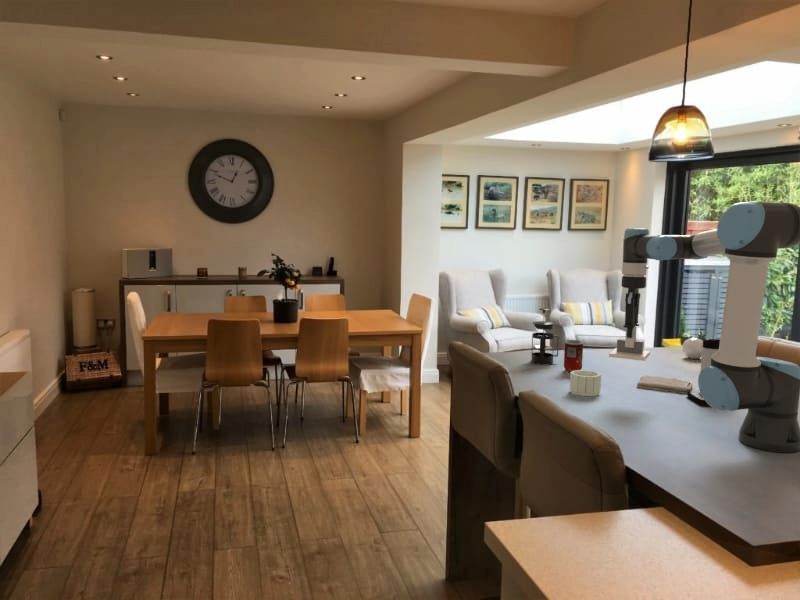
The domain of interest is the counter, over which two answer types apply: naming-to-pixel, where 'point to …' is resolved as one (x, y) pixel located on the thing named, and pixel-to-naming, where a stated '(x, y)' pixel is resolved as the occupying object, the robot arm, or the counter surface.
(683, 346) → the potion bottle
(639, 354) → the cover
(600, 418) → the counter surface
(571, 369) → the soda can
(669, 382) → the washcloth
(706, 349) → the travel mug
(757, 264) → the robot arm
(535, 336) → the french press
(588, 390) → the cream round tub
